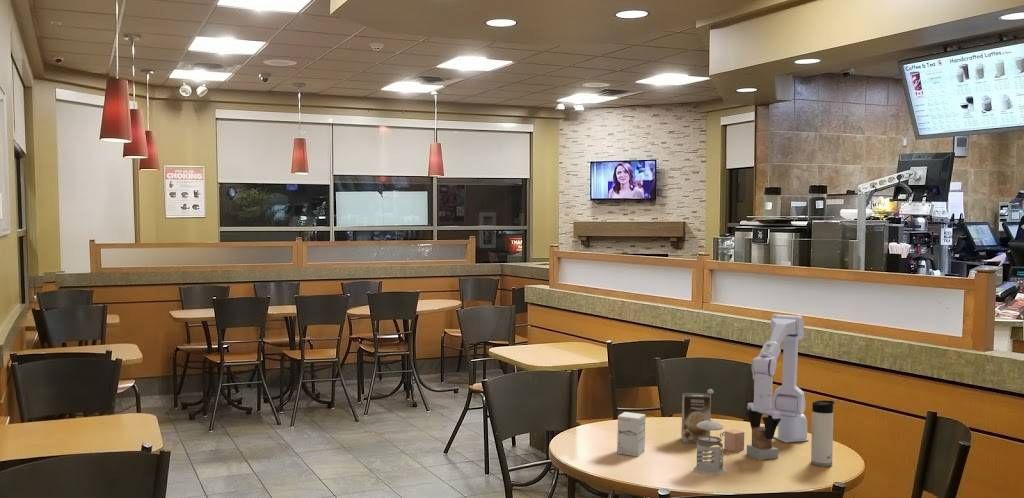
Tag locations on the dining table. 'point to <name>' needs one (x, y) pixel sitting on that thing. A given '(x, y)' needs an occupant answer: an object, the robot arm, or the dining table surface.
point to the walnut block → (760, 438)
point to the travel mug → (822, 433)
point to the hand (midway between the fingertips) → (762, 435)
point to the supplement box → (631, 434)
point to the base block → (762, 452)
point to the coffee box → (694, 416)
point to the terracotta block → (734, 440)
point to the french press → (710, 448)
